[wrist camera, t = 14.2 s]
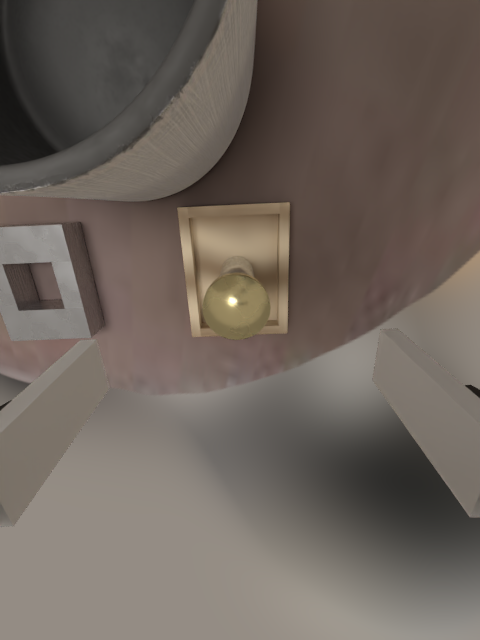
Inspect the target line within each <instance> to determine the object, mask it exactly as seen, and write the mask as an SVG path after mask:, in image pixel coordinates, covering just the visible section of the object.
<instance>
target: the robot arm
mask: <svg viewBox="0 0 480 640" xmlns="http://www.w3.org/2000/svg"><path fill="white" fill-rule="evenodd" d="M373 382H374V383H375V384H376V385H377V387H378V388H379V390H380V391H381V393H382V394H383V396H384V397H385V398H386V400H387V401H388V403H389V404H390V405H391V407H392V408H393V410H394V411H395V413H396V414H397V415H398V416H399V418H400V420H401V421H402V422H403V424H404V425H405V426H406V428H407V429H408V431H409V432H410V434H411V435H412V436H413V438H414V439H415V441H416V442H417V443H418V445H419V446H420V448H421V449H422V450H423V452H424V453H425V455H426V456H427V457H428V459H429V460H430V462H431V463H432V465H433V466H434V467H435V469H436V470H437V472H438V473H439V474H440V476H441V477H442V479H443V480H444V481H445V483H446V484H447V485H448V487H449V488H450V490H451V491H452V493H453V494H454V495H455V497H456V498H457V500H458V501H459V502H460V504H461V505H462V507H463V508H464V509H465V511H466V512H467V514H468V515H469V516H470V517H480V390H479V389H477V388H475V387H473V386H472V385H463V384H462V383H461V382H460V381H459V380H457V379H456V378H455V377H454V376H453V375H452V374H450V373H449V372H448V371H447V370H446V369H444V368H443V367H442V366H441V365H440V364H439V363H437V362H436V361H435V360H434V359H433V358H431V357H430V356H429V355H428V354H427V353H426V352H424V351H423V350H422V349H421V348H420V347H418V346H417V345H416V344H415V343H414V342H412V341H411V340H410V339H409V338H408V337H407V336H405V335H404V334H403V333H402V332H401V331H399V330H398V329H380V336H379V342H378V348H377V355H376V360H375V367H374V373H373ZM109 389H110V387H109V383H108V380H107V376H106V372H105V368H104V365H103V361H102V357H101V353H100V350H99V346H98V342H97V340H80V341H79V342H78V343H77V344H76V345H75V346H73V347H72V348H71V349H70V350H69V351H68V352H67V353H65V354H64V355H63V356H62V357H61V358H60V359H59V360H57V361H56V362H55V363H54V364H53V365H52V366H51V367H49V368H48V369H47V370H46V371H45V372H44V373H43V374H42V375H40V376H39V377H38V378H37V379H36V380H35V381H34V382H32V383H31V384H30V385H29V386H28V387H27V388H26V389H24V390H23V391H22V392H21V393H20V394H19V395H18V396H16V397H15V398H14V399H13V400H11V401H9V402H7V403H5V404H4V405H2V406H0V527H4V526H14V525H15V523H16V522H17V520H18V519H19V518H20V516H21V515H22V513H23V512H24V510H25V509H26V508H27V506H28V505H29V503H30V502H31V501H32V499H33V498H34V496H35V495H36V493H37V492H38V491H39V489H40V488H41V486H42V485H43V483H44V482H45V480H46V479H47V477H48V476H49V475H50V473H51V472H52V470H53V469H54V467H55V466H56V465H57V463H58V461H59V460H60V459H61V458H62V456H63V455H64V453H65V452H66V450H67V449H68V447H69V446H70V445H71V443H72V442H73V440H74V439H75V437H76V436H77V434H78V433H79V432H80V430H81V429H82V427H83V426H84V424H85V423H86V422H87V420H88V419H89V417H90V416H91V414H92V413H93V412H94V410H95V409H96V407H97V406H98V404H99V403H100V402H101V400H102V399H103V397H104V396H105V394H106V393H107V392H108V390H109Z"/></svg>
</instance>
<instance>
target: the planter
mask: <svg viewBox="0 0 480 640" xmlns="http://www.w3.org/2000/svg"><path fill="white" fill-rule="evenodd" d="M257 2H258V0H0V195H13V196H39V197H61V198H79V199H94V200H109V201H128V202H135V201H149V200H155V199H160V198H163V197H167V196H170V195H172V194H175V193H177V192H180V191H182V190H184V189H186V188H187V187H189V186H191V185H192V184H194V183H195V182H197V181H198V180H199V179H200V178H202V177H203V176H204V175H205V174H206V173H207V172H208V171H210V170H211V169H212V167H213V166H214V165H215V164H216V163H217V162H218V161H219V159H220V158H221V157H222V155H223V154H224V153H225V151H226V150H227V148H228V146H229V145H230V143H231V141H232V139H233V138H234V136H235V134H236V131H237V129H238V127H239V125H240V122H241V119H242V117H243V114H244V111H245V107H246V104H247V100H248V96H249V91H250V86H251V80H252V73H253V63H254V50H255V35H256V18H257Z"/></svg>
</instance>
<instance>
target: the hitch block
mask: <svg viewBox="0 0 480 640" xmlns="http://www.w3.org/2000/svg"><path fill="white" fill-rule="evenodd" d="M41 262H51V263H52V266H53V269H54V273H55V276H56V280H57V283H58V287H59V290H60V294H61V297H62V300H41V301H40V300H39V297H38V294H37V291H36V287H35V284H34V281H33V278H32V275H31V272H30V269H29V266H28V263H41ZM0 312H1V315H2V317H3V320H4V323H5V325H6V328H7V330H8V333H9V336H10V338H11V341H22V340H46V339H70V338H91V337H93V336H94V335H95V334H96V333H97V332H98V331H99V330H100V329H101V328H102V327H104V326H105V324H104V319H103V315H102V311H101V307H100V303H99V299H98V294H97V290H96V286H95V282H94V278H93V274H92V269H91V265H90V261H89V257H88V253H87V249H86V244H85V240H84V236H83V232H82V228H81V224H80V222H73V223H52V224H31V225H9V226H0Z"/></svg>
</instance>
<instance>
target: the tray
mask: <svg viewBox="0 0 480 640" xmlns="http://www.w3.org/2000/svg"><path fill="white" fill-rule="evenodd" d="M177 211H178V219H179V228H180V236H181V245H182V253H183V262H184V270H185V279H186V287H187V296H188V304H189V313H190V321H191V330H192V337H207V336H220V335H218V334H216V333H215V332H214V331H213V330H212V329H211V328H210V327H209V326H208V324H207V323H206V321H205V319H204V316H203V309H202V306H203V300H204V297H205V294H206V291H207V289H208V288H209V286H210V285H211V283H212V282H213V281H215V280H216V279H217V278H219V276H220V272H221V268H222V265H223V263H224V262H225V261H226V260H227V259H228V258H230V257H233V256H241V257H244V258H246V259H247V260H248V261H249V262H250V263H251V265H252V267H253V272H254V276H255V278H256V279H257V280H258V281H260V282H261V284H262V285H263V286H264V287H265V289H266V291H267V294H268V297H269V300H270V307H271V309H270V316H269V319H268V321H267V323H266V325H265V326H264V327H263V328H262V330H260V331H259V332H258V333H257V334H280V333H287V325H288V275H289V224H290V202H283V203H261V204H240V205H219V206H198V207H179V208H177ZM255 335H256V334H255Z"/></svg>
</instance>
